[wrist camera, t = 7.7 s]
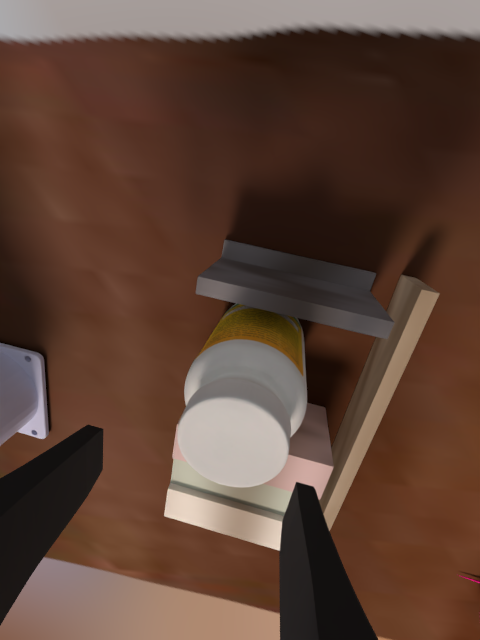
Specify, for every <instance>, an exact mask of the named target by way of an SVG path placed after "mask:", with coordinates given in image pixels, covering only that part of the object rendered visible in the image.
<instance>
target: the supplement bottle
mask: <svg viewBox="0 0 480 640" xmlns="http://www.w3.org/2000/svg"><path fill="white" fill-rule="evenodd" d="M184 395H185V403H186V408H185V411H184V413H183V415H182V417H181V419H180V422H179V425H178V431H177V439H178V445H179V448H180V451H181V453H182V455H183V457H184V458H185V460H186V461H187V463H188V464H189V465H190V466H191V467H192V468H193V469H194V470H195V471H197V472H198V473H199V474H200V475H202V476H203V477H205V478H207V479H208V480H211V481H213V482H216V483H218V484H221V485H225V486H231V487H242V488H243V487H253V486H257V485H261V484H263V483H265V482H267V481H269V480H271V479H273V478H274V477H275V476H277V475H278V474H279V473H280V471H281V470H282V469H283V467H284V466H285V464H286V461H287V458H288V454H289V448H290V437H291V436H292V435H293V434H294V433H295V432H296V431H297V430H298V428H299V427H300V425H301V423H302V421H303V419H304V416H305V412H306V408H307V383H306V367H305V343H304V335H303V330H302V327H301V325H300V322H299V320H298V319H297V318H296V317H291V316H287V315H283V314H279V313H275V312H270V311H266V310H262V309H258V308H254V307H249V306H245V305H241V304H237V303H236V304H235V305H233V306H232V307H231V308H230V309H229V310H228V311H227V312H226V313H225V315H224V316H223V317H222V319H221V320H220V322H219V323H218V325H217V326H216V328H215V329H214V331H213V333H212V334H211V336H210V337H209V339H208V340H207V342H206V344H205V345H204V347H203V349H202V350H201V351H200V353H199V354H198V356H197V357H196V359H195V360H194V362H193V363H192V365H191V368H190V370H189V372H188V374H187V378H186V381H185V388H184Z"/></svg>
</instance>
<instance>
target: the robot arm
mask: <svg viewBox="0 0 480 640" xmlns="http://www.w3.org/2000/svg"><path fill="white" fill-rule="evenodd" d="M16 432H20V433H23V434H26V435H30V436H33V437H37V438H40V439H44V438H46V437H47V436H48V435H49V428H48V413H47V397H46V382H45V366H44V358H43V356H42V355H41V354H40V353H37V352H34V351H30V350H26V349H22V348H19V347H15V346H11V345H7V344H3V343H0V446H1V445H2V444H3V443H4V442H5V441H7V440H8V439H9V438H10V437H11V436H12V435H14V434H15V433H16ZM102 469H103V429H102V428H98V427H94V426H91V425H87V426H85V427H83V428H82V429H80V430H79V431H77V432H75V433H74V434H72V435H71V436H69V437H68V438H66V439H65V440H63V441H61V442H60V443H58V444H57V445H55V446H54V447H52V448H50V449H49V450H47V451H46V452H44V453H42V454H41V455H39V456H38V457H36V458H34V459H33V460H31V461H29V462H28V463H26V464H25V465H23V466H21V467H19V468H18V469H16V470H14V471H12V472H11V473H9V474H7V475H5V476H4V477H2V478H0V625H1V623H2V622H3V620H4V618H5V616H6V615H7V613H8V612H9V610H10V608H11V607H12V605H13V603H14V602H15V600H16V599H17V597H18V595H19V594H20V592H21V590H22V589H23V587H24V585H25V584H26V582H27V581H28V579H29V577H30V576H31V575H32V573H33V572H34V570H35V569H36V567H37V566H38V564H39V563H40V561H41V560H42V559H43V557H44V556H45V554H46V553H47V552H48V550H49V549H50V548H51V546H52V545H53V543H54V542H55V541H56V539H57V538H58V537H59V535H60V534H61V532H62V531H63V530H64V528H65V527H66V525H67V524H68V523H69V521H70V520H71V519H72V517H73V516H74V514H75V513H76V512H77V510H78V509H79V507H80V506H81V505H82V503H83V502H84V500H85V499H86V497H87V496H88V494H89V492H90V491H91V489H92V487H93V486H94V484H95V482H96V480H97V478H98V477H99V475H100V473H101V471H102ZM280 640H378V638H377V636H376V634H375V632H374V631H373V629H372V627H371V625H370V623H369V621H368V619H367V617H366V615H365V613H364V611H363V609H362V607H361V604H360V602H359V600H358V598H357V596H356V594H355V592H354V589H353V587H352V585H351V583H350V580H349V578H348V576H347V574H346V571H345V569H344V567H343V564H342V562H341V559H340V557H339V554H338V552H337V549H336V547H335V544H334V542H333V539H332V537H331V534H330V531H329V529H328V526H327V523H326V520H325V517H324V515H323V512H322V509H321V506H320V502H319V499H318V496H317V493H316V489H315V488H314V486H310V485H306V484H303V483H299V482H296V484H295V487H294V489H293V492H292V495H291V498H290V501H289V503H288V506H287V509H286V512H285V515H284V517H283V520H282V530H281V542H280Z"/></svg>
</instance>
